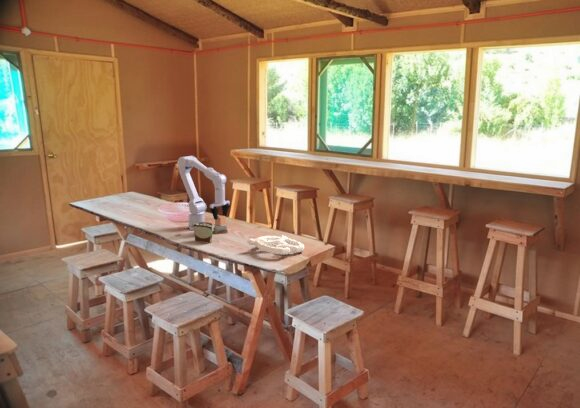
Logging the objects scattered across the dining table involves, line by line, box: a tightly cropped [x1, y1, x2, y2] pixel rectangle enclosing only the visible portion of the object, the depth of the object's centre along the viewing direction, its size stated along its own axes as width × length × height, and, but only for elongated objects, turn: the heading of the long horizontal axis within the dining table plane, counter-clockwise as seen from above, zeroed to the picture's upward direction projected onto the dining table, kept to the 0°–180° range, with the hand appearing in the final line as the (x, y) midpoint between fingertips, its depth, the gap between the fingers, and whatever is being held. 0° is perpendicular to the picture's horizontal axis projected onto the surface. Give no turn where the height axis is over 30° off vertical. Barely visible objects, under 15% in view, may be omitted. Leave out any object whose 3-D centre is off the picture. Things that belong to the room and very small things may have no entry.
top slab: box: [213, 223, 228, 230], centre depth 260 cm, size 6×6×2 cm
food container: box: [192, 221, 214, 244], centre depth 242 cm, size 12×6×10 cm, turn 71°
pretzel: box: [246, 235, 305, 255], centre depth 229 cm, size 28×24×6 cm
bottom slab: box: [212, 228, 229, 235], centre depth 260 cm, size 7×7×2 cm
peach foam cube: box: [214, 214, 227, 226], centre depth 259 cm, size 4×4×5 cm
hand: (220, 217), depth 259 cm, fingers open, 7 cm apart
